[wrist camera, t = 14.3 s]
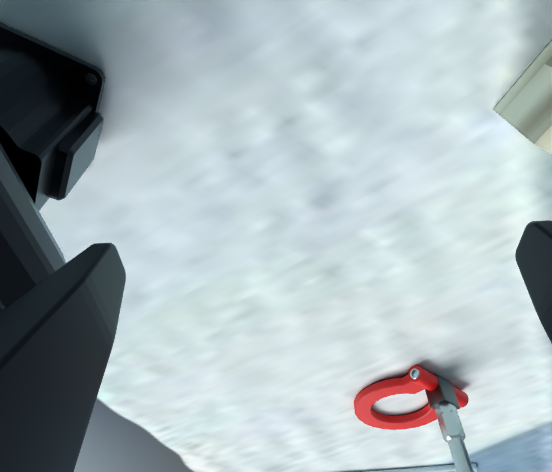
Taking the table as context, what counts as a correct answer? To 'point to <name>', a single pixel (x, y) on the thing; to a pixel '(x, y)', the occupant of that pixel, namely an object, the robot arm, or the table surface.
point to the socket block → (532, 102)
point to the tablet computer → (427, 469)
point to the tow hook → (440, 407)
